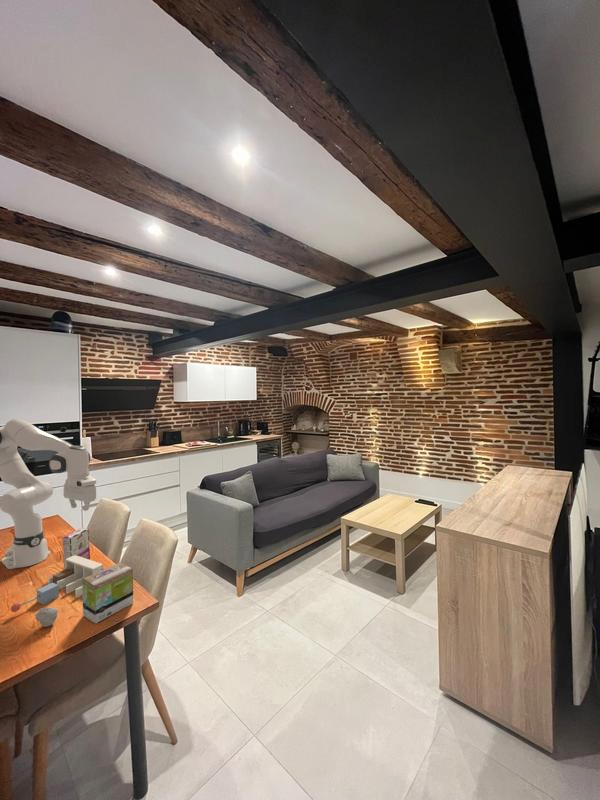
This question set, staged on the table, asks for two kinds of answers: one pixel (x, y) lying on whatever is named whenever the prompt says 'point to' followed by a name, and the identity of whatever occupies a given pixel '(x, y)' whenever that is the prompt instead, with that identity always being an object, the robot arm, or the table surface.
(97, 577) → the tea box
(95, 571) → the lane shelf
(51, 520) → the table surface
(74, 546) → the candy bar box
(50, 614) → the grey rounded lump
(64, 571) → the walnut block
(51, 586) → the tethered block
